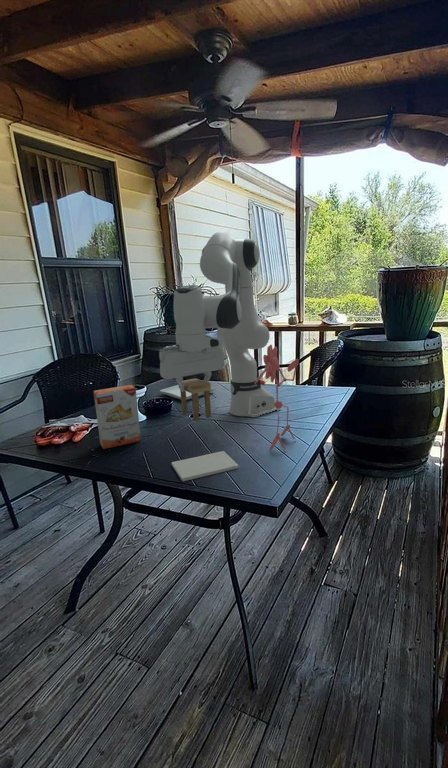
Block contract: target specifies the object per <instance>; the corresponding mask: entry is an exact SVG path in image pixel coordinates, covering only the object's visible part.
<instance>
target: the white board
mask: <svg viewBox="0 0 448 768" xmlns="http://www.w3.org/2000/svg"><path fill="white" fill-rule="evenodd" d="M171 466H172V468H173V469H174V471H175V472H176V474H177V475H178V477H179V479H180V480H181V481H182V482H186V481H187V482H188V481H190V480H191V481H192V480H194V479H198V478H203V477H207V476H211V475H215V474H219V473H225V472H228V471H232V470H236V469H239V464H238V463H237V462H236V461H235V460H233V458H232V457H231V456H230V455H229V454H227V453H226V451H225V450H222V451H221V450H220V451H216V452H213V453H208V454H203V455H199V456H198V455H197V456H195V457H190V458H185V459H181V460H175V461H172V462H171Z"/></svg>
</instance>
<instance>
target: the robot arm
mask: <svg viewBox="0 0 448 768" xmlns="http://www.w3.org/2000/svg"><path fill="white" fill-rule="evenodd" d="M260 253H261V252H260V248H259V245H258V243H257V241H256V240H255V239H252V238H245V239H244V238H243V239H241V238H240V239H237V238H236V239H235V238H234V237H233V236H232V234H229V233H228V232H225V231H217V232H215V233H213V234H212V236H211V237H210V238H209V239H208V241H207V243H206V244H205V245H204V247H203V248H202V250H201V256H200V260H199V268H200V271H201V273H202V275H203V276H204V277H205V278H206V279H207V280H209V281H210V282H213V283H216V284H220V285H221V284H222V285H224V290H225V293H223V294H220V295H203V293H202V288H201V286H199V285H195V284H191V285H190V284H189V285H184V286H183V285H182V286H178V287H177V288H176V289H175V290H174V292H173V293H174V294H173V319H174V323H175V326H176V327H175V333H174V334H175V345H174V344H173V345H169V346H163V348H161V349H160V350H159V352H158V357H159V362H160V363H159V374H160V377H161V378H163V379H165V380H172V379H175V381H176V382H177V385H180V391H182V392H183V391H187V385H185V384H183V383H182V381H184V377H189V376H193V375H199V374H203V375H204V378H203V379H202V381H205V382H207V383H210V382H209V381H210V379H211V377H212V372H213V371H214V372H215V371H220V370H223V369H224V367H225V356H224V355H225V354H224V350H225V352H226V354H227V357H228V361H229V366H230V377H231V379H230V393H231V397H230V399H231V400H230V406H229V411H228V412H229V413H230V414H231V415H233V416H238V417H250V418H257V417H260V415H261V416H263V415H262V414H264V415H266V414H265V413H268V414H270V413H269V412H271V413H273V412H272V411H274V410H276V407H275V405H274V404H275V402H276V401H275V396H274V395H273V394H272V392H270V391H268V390H266V388H264V387H262V386H265V384H266V381H265V380H263V379H260V380H259V381H258V382H257V383H256V384H254V383H255V382H256V380H257V378H258V368H257V361H256V359H255V358H254V357H253V356H252V355H251V353H250V351H249V350H258V349H264V348H265V347H266V346H267V345H268V343H269V342H270V331H269V328H268V327H267V325H265V324H264V323H263V322H262V320H261V319H260V317H259V315H258V313H257V309H256V307H255V301H254V300H255V299H254V289H253V280H252V271H253V269H254V268H255V267H256V266H257V265H258V264H259V260H260V255H261V254H260ZM206 329H217V330H216V337H212V336H209V335H207V330H206ZM221 346H223V348H224V350H223V348H222V347H221ZM277 409H278V408H277ZM279 409H280V410H281V408H279Z"/></svg>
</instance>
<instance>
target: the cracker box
mask: <svg viewBox="0 0 448 768" xmlns="http://www.w3.org/2000/svg"><path fill="white" fill-rule="evenodd" d="M93 398H94V406H95V412H96V420H97V421H96V422H97V428H98V429H97V430H98V434H99V435H98V437H99V442H100V443H99V444H100V446H101V447H102V449H103V450H107V449H110V448H115V447H120V446H124V445H129V444H133V443H139V442H141V429H140V421H139V420H140V419H139V418H140V417H139V408H138V400H137V388H136V387H135V386H133V385H132V384H127V385H121V386H115V387H109V388H102V389H97V390H93Z"/></svg>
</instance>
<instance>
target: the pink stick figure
mask: <svg viewBox="0 0 448 768" xmlns="http://www.w3.org/2000/svg"><path fill="white" fill-rule="evenodd" d="M299 361H300V360H299V358H296V359H295V360H293V361H291V362H290V363H289V365H288V366H287V368H286V370H287V372H288V373H290V372H291V371H293V370H294V371H293V375H292V379H291V378H286V377H285V376H284V374H283V372H282V370H281V368H280V366H281V365H280V362H279V359H278V347H277V346H274V347H273V345H272V344H269V345H268V346H267V351H266V354H264V355H263V362H264V365H265V366H264V369H263V370H262V372H261V373H260V374H259V375H258V376H257V380H256V382H255V383H254V384H256V383H257V382H258V381H259V380H262V379H261V378H263V376H264V375H265V377H264V378H265V380H268V379H270V382H271V383H273V382H274V381H275V382H276V386H275V389H276V390H275V391H276V392H275V393H276V396H275V397H276V401H275V404H274V405H275V407H276V410H277V411H276V413H277V417H278V418H277V426H276V427H277V430H276V435H275V437H274V438H273V440H272V442H271V445H270V447H269V451H271V450H272V449H274V447H276V444H277V442H278V441H279V443H280V445H281V446H282V447H281V448H282V449H283V450H286V451H287V449H286V447H285V445H284V444H283V442H282V440H281V436H282V437H283V436H284V435H285V434H286V433H287V431H288V432H289V434H290V435H291V437H292V439H295V440H296V438H295V437H294V435H293V432H292V430H291V429H290V427H291V423H289V411H290V410H289V409H290V408H289V407H288V406H286V405H284V404H283V402H282V401H281V400H279V399H278V398H279V396H278V395H279V387H280V386H281V385H282V384H283V383H284V382H287V381H289V382H295V378H296V372H297V367H298V364H299ZM277 371H278V372H279V373H280V375H281V377H282V380H281V381H280V382H279V381H278V379H277ZM283 407H284V408H287V411H286V412H287V413H286V426H285V428H284V429H283V431H282V432H281V433H279V427H280V425H279V424H280V414H279V410H278V409H279V408H280V409H281V408H283ZM277 408H278V409H277ZM251 444H252V443H250V446H251Z"/></svg>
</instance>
